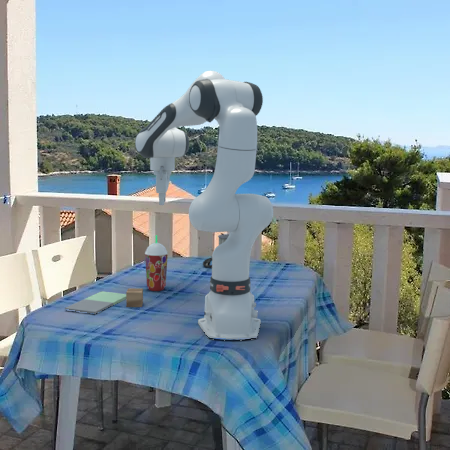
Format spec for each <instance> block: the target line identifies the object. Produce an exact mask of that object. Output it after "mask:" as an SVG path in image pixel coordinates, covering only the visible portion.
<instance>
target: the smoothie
mask: <svg viewBox="0 0 450 450" xmlns="http://www.w3.org/2000/svg"><path fill="white" fill-rule="evenodd" d="M154 237H155V239H154V240H155V241H154V242H153V243H151V244H149V245H148V246H147V247H146V249H145V251H144V255H145V257H144V258H145V259H144V262H145V276H146V286H147V289H148V290H149V291H151V292H160V291H163V290H165V287H166V285H167V272H168V271H167V270H168V257H169V256H168V255H169V252H168V251H167V249H166V247H165V245H164V244H162V243H160V242H158V234H156V235H154Z"/></svg>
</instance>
